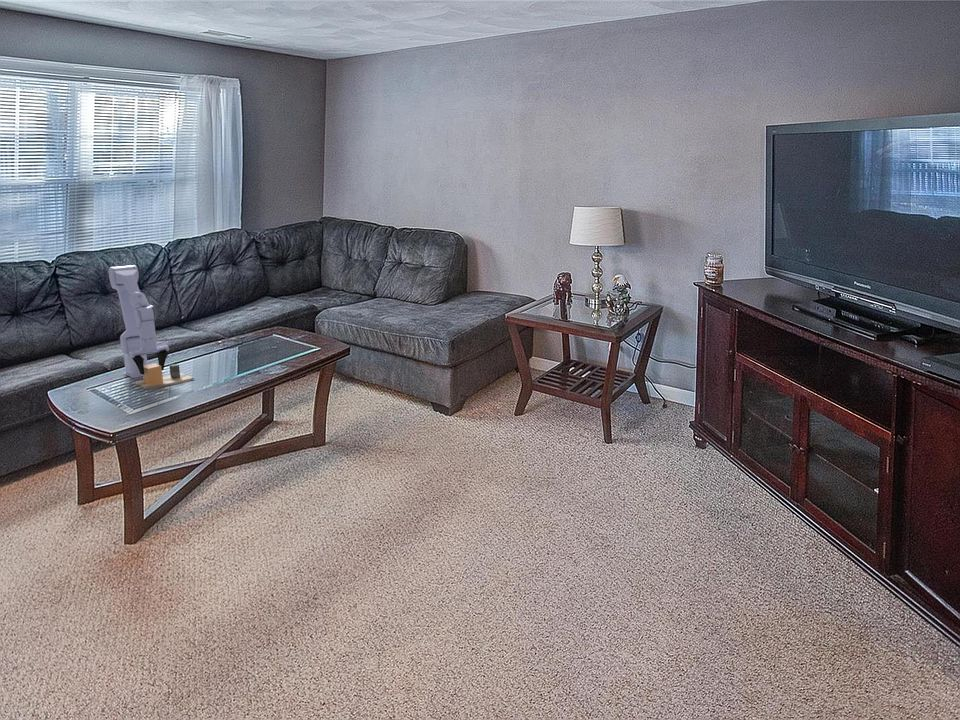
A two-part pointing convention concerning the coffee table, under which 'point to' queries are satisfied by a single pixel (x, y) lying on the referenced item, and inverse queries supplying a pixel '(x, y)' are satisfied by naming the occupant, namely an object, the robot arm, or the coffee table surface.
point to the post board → (168, 379)
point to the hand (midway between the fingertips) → (152, 371)
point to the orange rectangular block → (152, 374)
